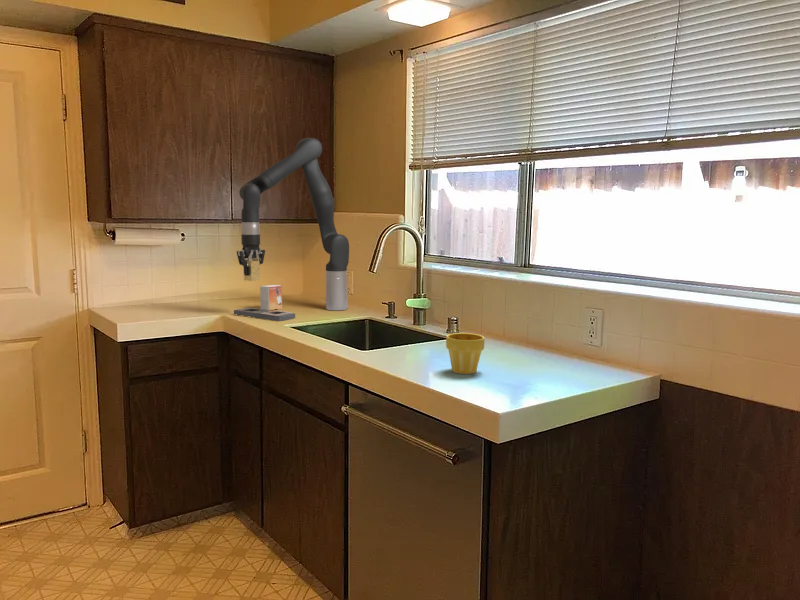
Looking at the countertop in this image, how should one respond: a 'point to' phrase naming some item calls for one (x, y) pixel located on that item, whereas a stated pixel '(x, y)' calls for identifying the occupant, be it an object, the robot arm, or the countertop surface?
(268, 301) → the small box
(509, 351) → the countertop surface
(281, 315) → the grey slotted board
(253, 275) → the nut block
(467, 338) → the plant pot
